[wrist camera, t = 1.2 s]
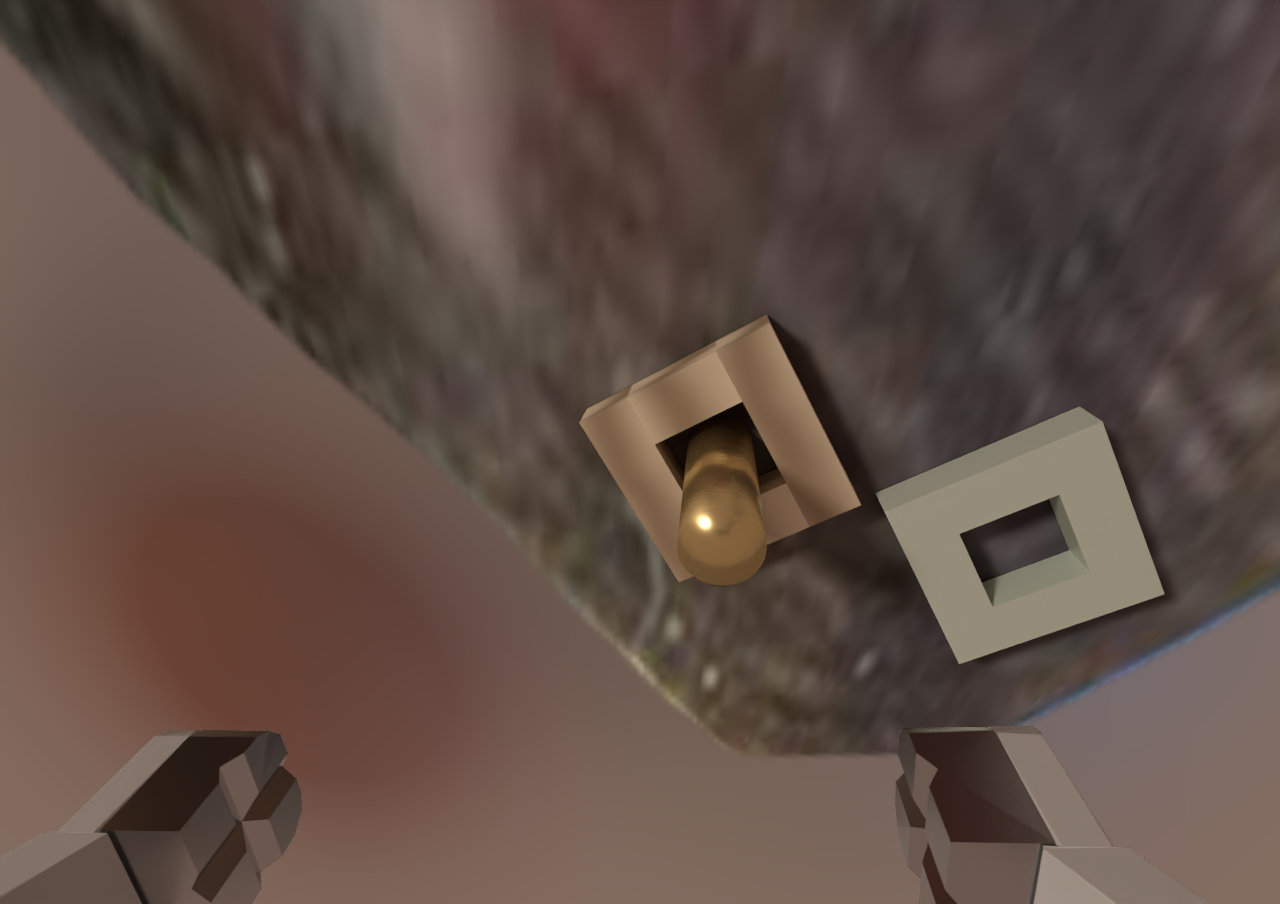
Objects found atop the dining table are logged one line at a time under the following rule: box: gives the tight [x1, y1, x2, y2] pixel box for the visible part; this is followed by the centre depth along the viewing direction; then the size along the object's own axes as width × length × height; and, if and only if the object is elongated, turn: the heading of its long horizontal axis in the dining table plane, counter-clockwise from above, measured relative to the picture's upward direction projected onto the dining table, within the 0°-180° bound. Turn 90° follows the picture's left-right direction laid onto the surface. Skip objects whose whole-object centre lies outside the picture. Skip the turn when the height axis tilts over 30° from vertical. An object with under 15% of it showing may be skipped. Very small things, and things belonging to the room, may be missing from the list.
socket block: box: [875, 407, 1164, 664], centre depth 40 cm, size 12×12×2 cm
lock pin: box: [677, 417, 767, 586], centre depth 36 cm, size 4×4×12 cm
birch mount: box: [580, 315, 861, 582], centre depth 40 cm, size 12×12×2 cm
